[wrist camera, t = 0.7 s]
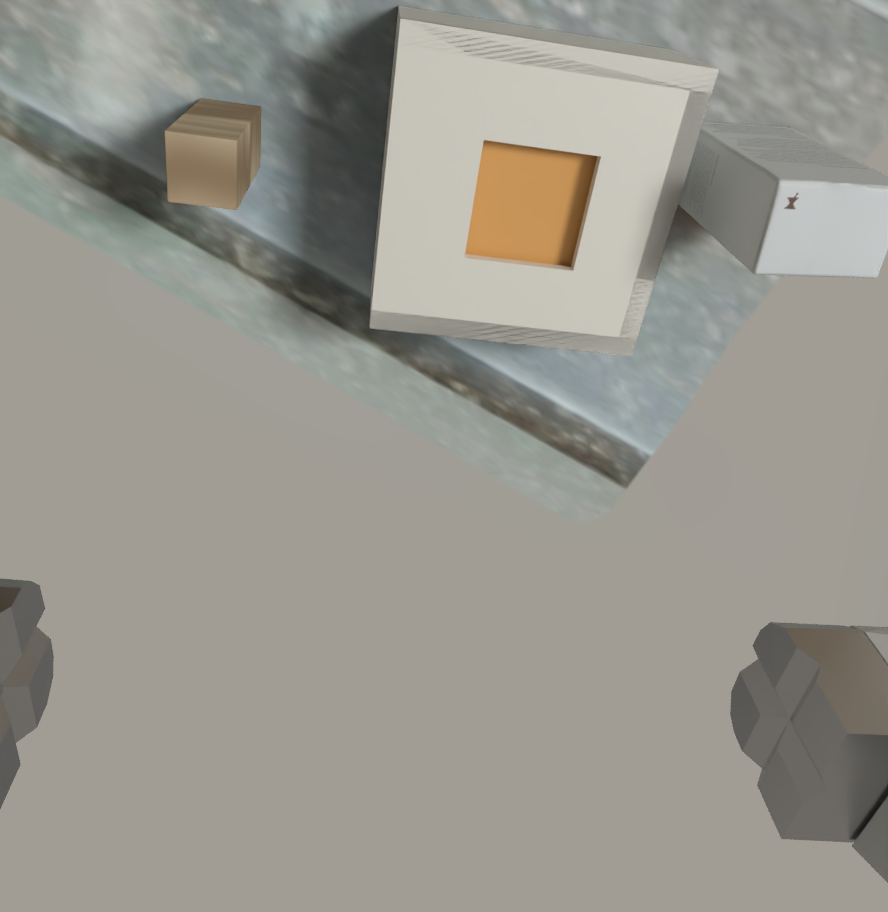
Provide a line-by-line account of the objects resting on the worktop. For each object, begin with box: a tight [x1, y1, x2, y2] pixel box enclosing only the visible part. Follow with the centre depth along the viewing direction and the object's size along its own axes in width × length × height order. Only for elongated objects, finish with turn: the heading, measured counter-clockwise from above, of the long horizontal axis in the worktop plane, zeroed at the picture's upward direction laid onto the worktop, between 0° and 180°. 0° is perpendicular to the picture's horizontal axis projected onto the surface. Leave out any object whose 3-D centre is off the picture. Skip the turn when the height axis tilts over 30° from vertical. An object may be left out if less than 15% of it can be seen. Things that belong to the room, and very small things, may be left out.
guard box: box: [369, 6, 719, 356], centre depth 40 cm, size 14×14×7 cm
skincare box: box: [678, 122, 888, 278], centre depth 39 cm, size 6×4×12 cm
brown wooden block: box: [165, 98, 261, 210], centre depth 38 cm, size 3×3×8 cm
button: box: [465, 140, 597, 267], centre depth 39 cm, size 8×8×3 cm
